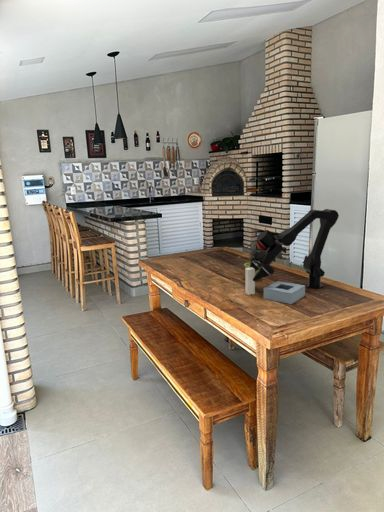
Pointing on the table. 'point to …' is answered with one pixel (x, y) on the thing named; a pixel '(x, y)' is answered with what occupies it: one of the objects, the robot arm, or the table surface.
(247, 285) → the post
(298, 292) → the grey thick square frame
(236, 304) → the table surface
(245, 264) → the plant pot
